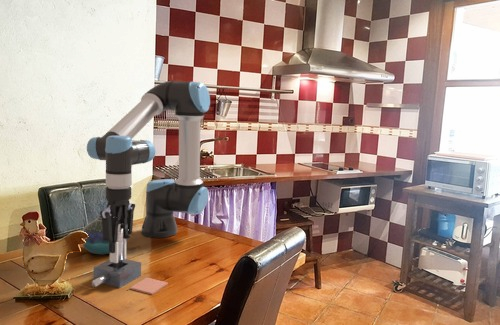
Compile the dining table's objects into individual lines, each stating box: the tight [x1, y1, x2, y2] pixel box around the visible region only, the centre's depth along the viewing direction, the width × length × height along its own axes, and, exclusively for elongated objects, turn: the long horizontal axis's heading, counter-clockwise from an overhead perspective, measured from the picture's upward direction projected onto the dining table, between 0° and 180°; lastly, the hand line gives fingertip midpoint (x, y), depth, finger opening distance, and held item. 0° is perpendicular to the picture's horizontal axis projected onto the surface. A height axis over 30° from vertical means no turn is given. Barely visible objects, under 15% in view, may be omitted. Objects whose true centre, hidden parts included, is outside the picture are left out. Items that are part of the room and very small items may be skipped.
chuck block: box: [91, 258, 142, 289], centre depth 121 cm, size 15×10×4 cm, turn 158°
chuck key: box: [113, 222, 128, 269], centre depth 123 cm, size 6×3×16 cm, turn 68°
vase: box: [82, 215, 113, 255], centre depth 145 cm, size 15×15×13 cm
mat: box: [129, 277, 169, 296], centre depth 119 cm, size 8×8×1 cm
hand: (118, 259), depth 123 cm, fingers closed on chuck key, 3 cm apart
